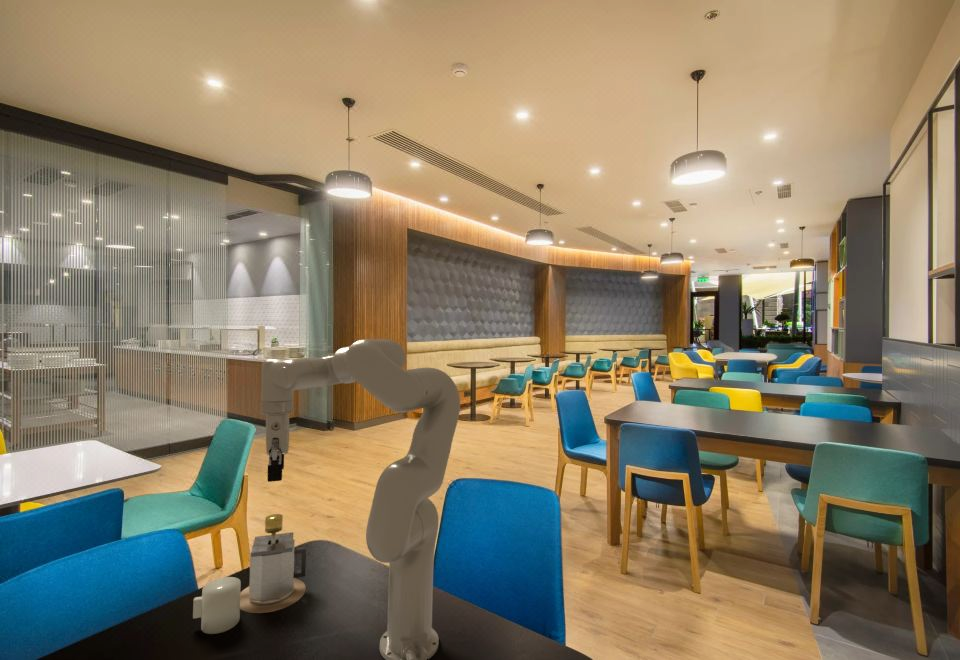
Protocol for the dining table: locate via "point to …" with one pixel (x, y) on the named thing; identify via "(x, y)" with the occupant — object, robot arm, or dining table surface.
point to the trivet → (297, 594)
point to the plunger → (273, 525)
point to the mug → (218, 605)
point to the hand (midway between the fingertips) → (276, 475)
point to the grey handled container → (273, 569)
